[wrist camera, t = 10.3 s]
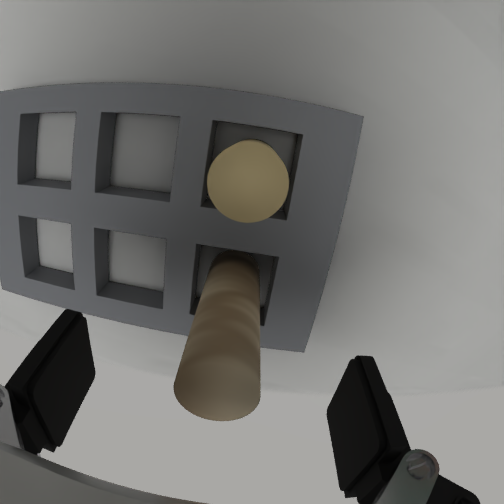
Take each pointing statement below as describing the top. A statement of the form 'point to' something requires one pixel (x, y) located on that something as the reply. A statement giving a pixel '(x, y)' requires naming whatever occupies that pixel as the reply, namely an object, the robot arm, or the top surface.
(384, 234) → the top surface
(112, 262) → the top surface
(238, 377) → the beech pin
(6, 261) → the peg board
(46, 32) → the top surface
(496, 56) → the top surface
